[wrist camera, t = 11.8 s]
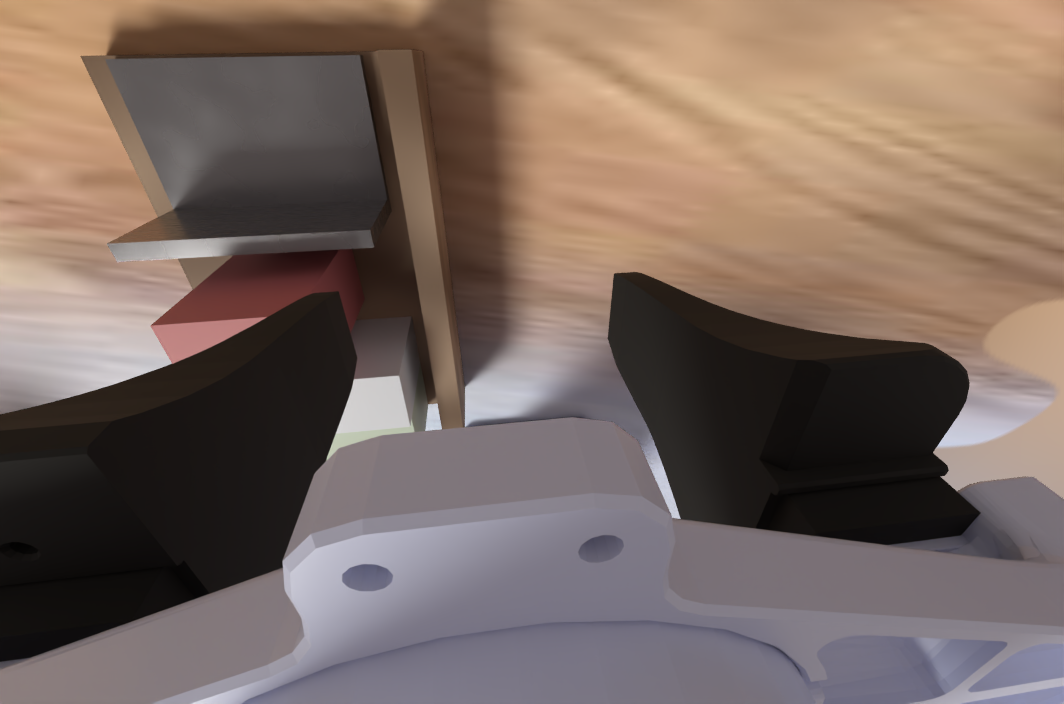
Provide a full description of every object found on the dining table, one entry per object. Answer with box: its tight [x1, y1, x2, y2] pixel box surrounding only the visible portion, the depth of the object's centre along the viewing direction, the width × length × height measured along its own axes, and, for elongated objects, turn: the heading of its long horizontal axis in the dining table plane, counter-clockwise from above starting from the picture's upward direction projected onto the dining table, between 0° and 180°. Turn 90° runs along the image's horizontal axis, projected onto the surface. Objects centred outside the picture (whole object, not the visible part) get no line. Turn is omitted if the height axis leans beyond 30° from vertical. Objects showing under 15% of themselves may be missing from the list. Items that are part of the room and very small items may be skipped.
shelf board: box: [81, 49, 465, 429], centre depth 19 cm, size 16×11×4 cm
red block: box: [151, 249, 365, 364], centre depth 17 cm, size 3×4×7 cm
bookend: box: [105, 55, 392, 262], centre depth 15 cm, size 5×8×4 cm
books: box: [326, 316, 428, 461], centre depth 20 cm, size 6×8×5 cm
